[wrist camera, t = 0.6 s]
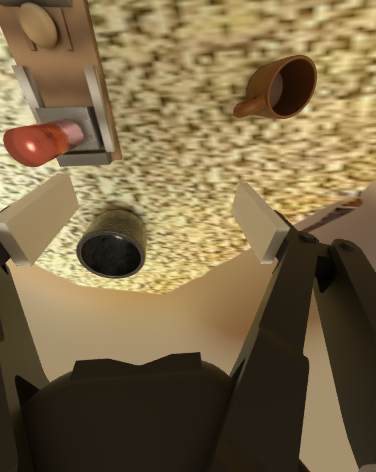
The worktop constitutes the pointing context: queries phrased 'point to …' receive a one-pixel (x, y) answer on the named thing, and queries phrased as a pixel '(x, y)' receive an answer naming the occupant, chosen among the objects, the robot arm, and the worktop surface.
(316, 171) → the worktop surface
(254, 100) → the mug
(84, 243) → the planter
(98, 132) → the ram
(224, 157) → the worktop surface
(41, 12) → the walnut
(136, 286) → the worktop surface
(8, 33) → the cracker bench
